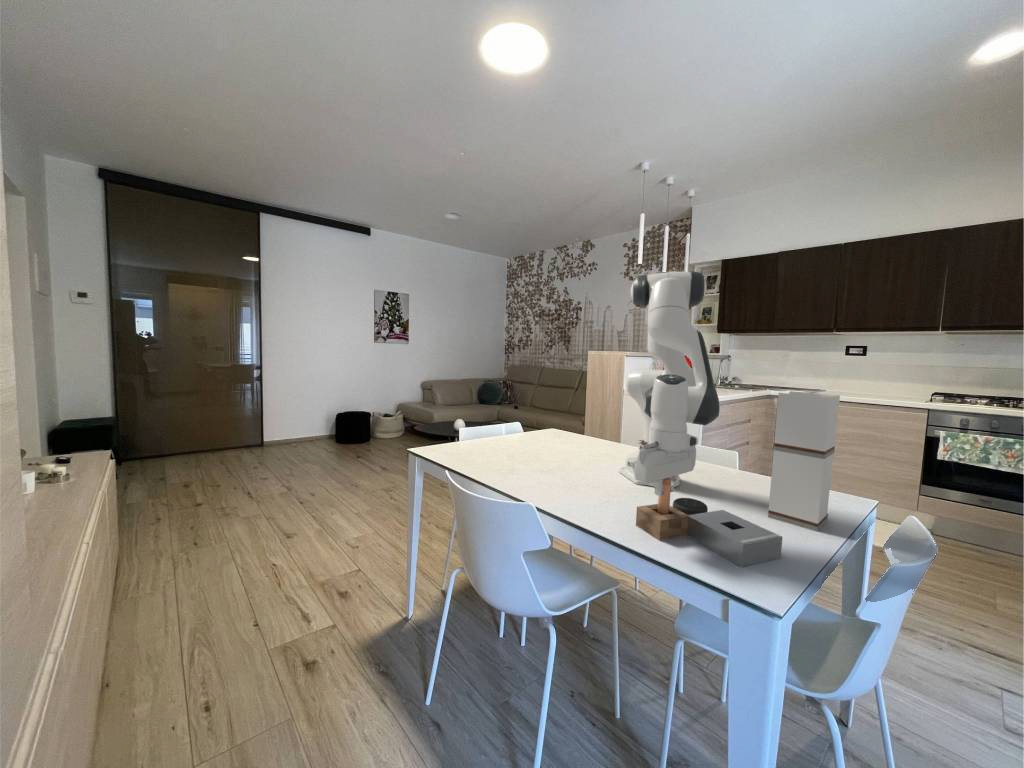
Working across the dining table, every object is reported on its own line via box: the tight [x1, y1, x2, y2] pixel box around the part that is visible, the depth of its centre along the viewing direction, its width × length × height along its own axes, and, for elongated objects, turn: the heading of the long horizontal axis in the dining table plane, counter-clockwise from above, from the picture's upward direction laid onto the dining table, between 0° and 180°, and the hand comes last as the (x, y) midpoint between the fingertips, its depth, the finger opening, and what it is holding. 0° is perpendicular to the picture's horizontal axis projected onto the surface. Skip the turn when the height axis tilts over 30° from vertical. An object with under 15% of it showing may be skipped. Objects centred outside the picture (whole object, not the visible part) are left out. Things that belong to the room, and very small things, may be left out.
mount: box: [635, 503, 688, 541], centre depth 106 cm, size 9×9×5 cm
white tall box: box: [767, 390, 841, 532], centre depth 114 cm, size 11×11×35 cm
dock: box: [686, 509, 783, 568], centre depth 98 cm, size 16×12×5 cm
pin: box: [657, 478, 672, 515], centre depth 105 cm, size 3×3×11 cm
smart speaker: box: [672, 497, 709, 515], centre depth 115 cm, size 9×9×4 cm
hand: (664, 493), depth 105 cm, fingers closed on pin, 3 cm apart
